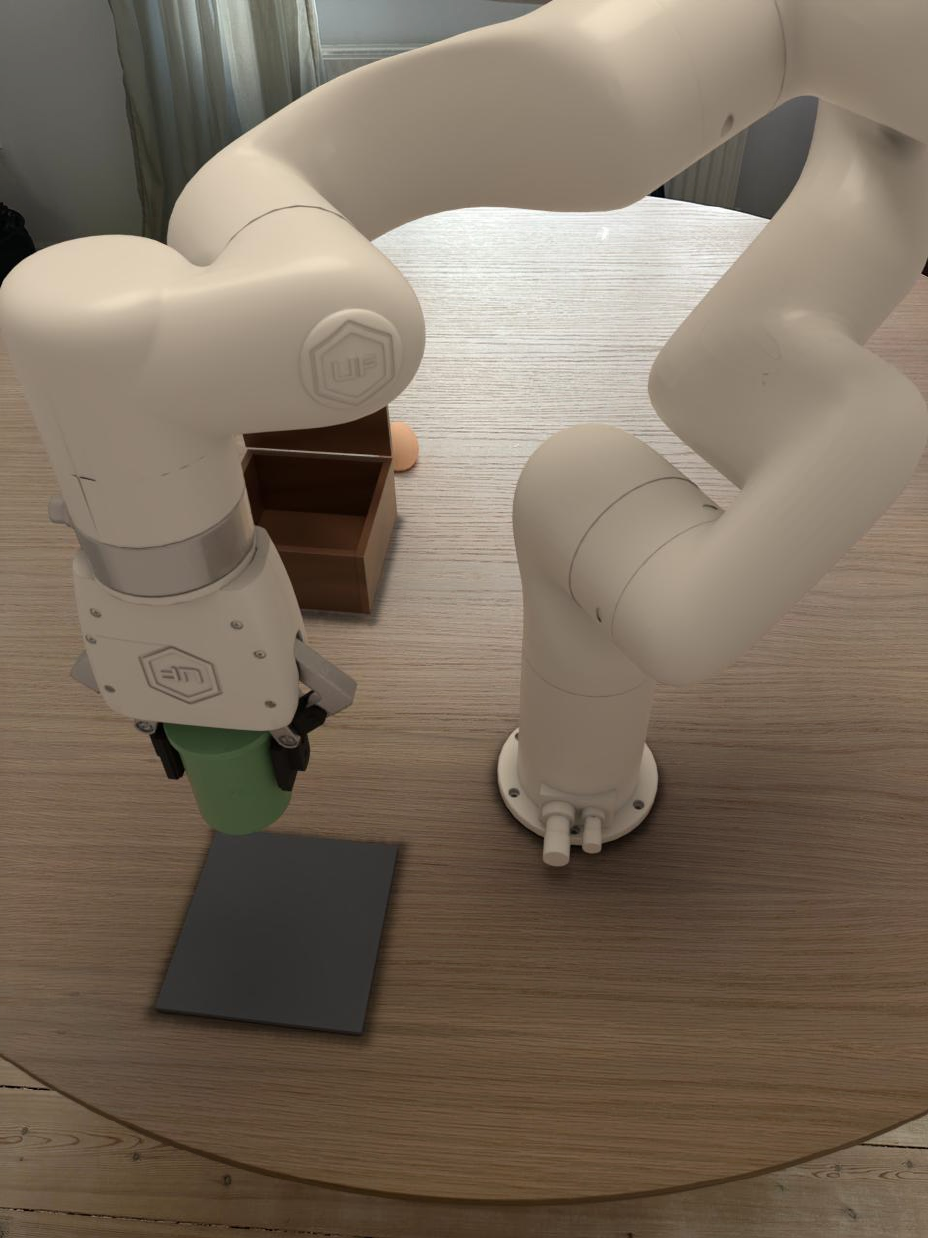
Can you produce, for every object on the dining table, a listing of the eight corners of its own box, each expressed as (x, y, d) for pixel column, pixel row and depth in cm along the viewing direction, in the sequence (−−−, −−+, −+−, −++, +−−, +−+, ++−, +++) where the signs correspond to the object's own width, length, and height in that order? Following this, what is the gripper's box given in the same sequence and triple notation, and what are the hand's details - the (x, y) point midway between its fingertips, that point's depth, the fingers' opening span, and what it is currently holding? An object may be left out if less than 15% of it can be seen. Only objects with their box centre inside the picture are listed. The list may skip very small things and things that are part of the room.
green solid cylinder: (282, 845, 57) (260, 760, 51) (178, 833, 57) (145, 749, 52) (308, 758, 61) (290, 672, 55) (211, 749, 62) (184, 662, 56)
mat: (362, 1036, 64) (361, 1033, 64) (156, 1011, 66) (154, 1008, 65) (398, 849, 74) (398, 846, 74) (218, 831, 75) (217, 827, 75)
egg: (392, 485, 105) (388, 441, 101) (371, 464, 108) (367, 421, 104) (427, 471, 107) (425, 427, 103) (406, 451, 110) (403, 407, 106)
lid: (376, 317, 83) (386, 286, 86) (210, 309, 85) (225, 279, 88) (391, 456, 95) (399, 424, 98) (245, 447, 97) (257, 416, 100)
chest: (370, 619, 91) (363, 557, 86) (218, 607, 93) (201, 545, 87) (397, 519, 101) (392, 457, 96) (260, 510, 103) (247, 448, 97)
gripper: (-54, 566, 42) (70, 804, 55) (336, 598, 41) (370, 836, 54) (23, 463, 48) (120, 702, 61) (371, 488, 46) (395, 728, 59)
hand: (237, 763), depth 57 cm, fingers closed on green solid cylinder, 5 cm apart
